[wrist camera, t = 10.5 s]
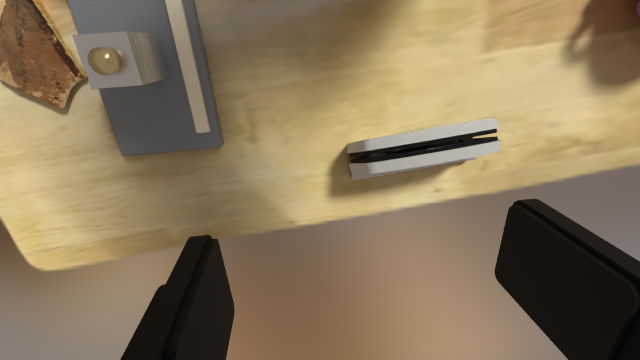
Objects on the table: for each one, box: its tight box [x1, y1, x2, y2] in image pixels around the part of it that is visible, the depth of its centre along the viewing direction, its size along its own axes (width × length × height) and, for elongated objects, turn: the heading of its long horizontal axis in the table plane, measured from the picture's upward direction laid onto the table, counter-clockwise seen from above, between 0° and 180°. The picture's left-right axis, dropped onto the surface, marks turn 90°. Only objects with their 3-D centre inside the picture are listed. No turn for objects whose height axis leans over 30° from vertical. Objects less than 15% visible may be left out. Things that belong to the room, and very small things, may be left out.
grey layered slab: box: [347, 118, 501, 180], centre depth 35 cm, size 17×5×10 cm, turn 98°
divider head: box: [72, 31, 168, 89], centre depth 27 cm, size 4×4×8 cm
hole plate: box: [67, 0, 224, 156], centre depth 29 cm, size 28×11×2 cm, turn 4°
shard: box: [0, 0, 87, 108], centre depth 30 cm, size 11×8×2 cm
